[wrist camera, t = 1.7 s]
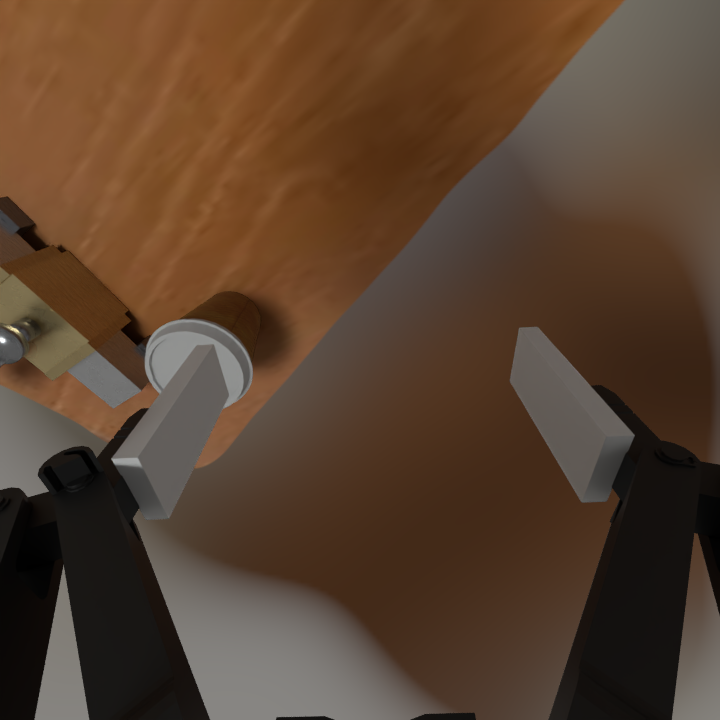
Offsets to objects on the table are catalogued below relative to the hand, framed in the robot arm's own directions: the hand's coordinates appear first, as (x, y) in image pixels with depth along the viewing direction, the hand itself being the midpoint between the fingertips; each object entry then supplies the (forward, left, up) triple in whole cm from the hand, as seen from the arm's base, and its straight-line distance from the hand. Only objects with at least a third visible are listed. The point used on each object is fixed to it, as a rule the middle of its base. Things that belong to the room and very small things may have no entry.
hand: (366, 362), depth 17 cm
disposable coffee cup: (0, -18, -26) cm, 32 cm away
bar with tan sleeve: (-11, -31, -26) cm, 41 cm away
